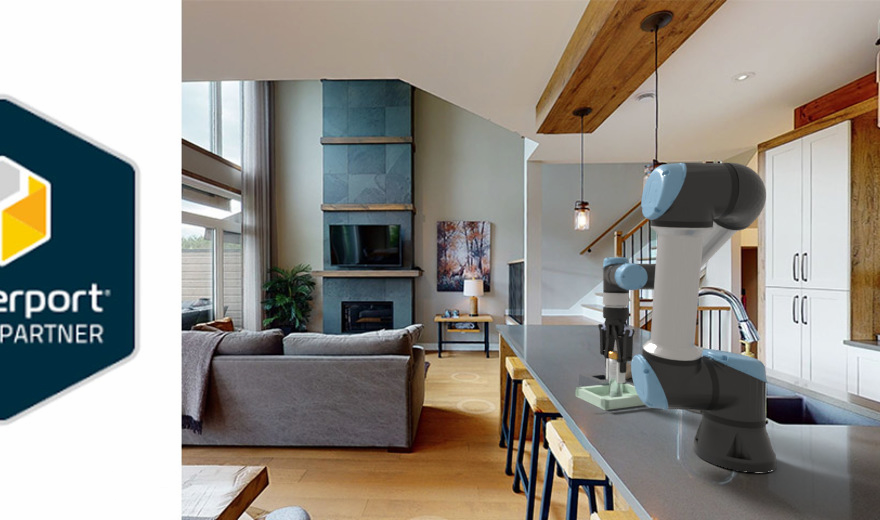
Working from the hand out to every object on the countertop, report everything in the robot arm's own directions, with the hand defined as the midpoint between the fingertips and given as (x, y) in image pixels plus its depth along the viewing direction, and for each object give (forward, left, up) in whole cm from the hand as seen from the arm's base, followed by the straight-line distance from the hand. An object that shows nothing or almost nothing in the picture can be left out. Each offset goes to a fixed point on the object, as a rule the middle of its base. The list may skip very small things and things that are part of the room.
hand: (615, 380), depth 133 cm
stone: (+21, -21, -7) cm, 30 cm away
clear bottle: (0, 0, -5) cm, 5 cm away
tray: (0, 0, -6) cm, 6 cm away
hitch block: (+12, -5, -6) cm, 15 cm away
